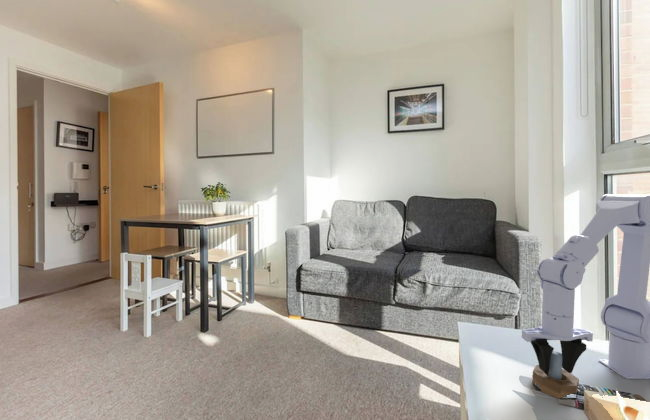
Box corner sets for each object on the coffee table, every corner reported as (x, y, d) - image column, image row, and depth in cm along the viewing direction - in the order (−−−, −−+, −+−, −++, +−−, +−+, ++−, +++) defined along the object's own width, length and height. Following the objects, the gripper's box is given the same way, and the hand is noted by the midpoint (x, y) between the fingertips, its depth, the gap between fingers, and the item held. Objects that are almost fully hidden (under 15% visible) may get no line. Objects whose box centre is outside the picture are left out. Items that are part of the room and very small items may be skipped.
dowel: (556, 384, 73) (557, 350, 72) (563, 390, 70) (565, 356, 70) (545, 384, 73) (546, 351, 72) (553, 390, 70) (554, 356, 70)
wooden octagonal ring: (559, 376, 76) (560, 364, 75) (586, 399, 68) (587, 385, 67) (526, 377, 76) (526, 365, 76) (549, 399, 68) (549, 385, 68)
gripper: (576, 305, 74) (573, 360, 75) (514, 305, 75) (513, 361, 75) (602, 317, 67) (599, 378, 68) (534, 318, 68) (532, 378, 68)
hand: (555, 370), depth 71 cm, fingers open, 5 cm apart
